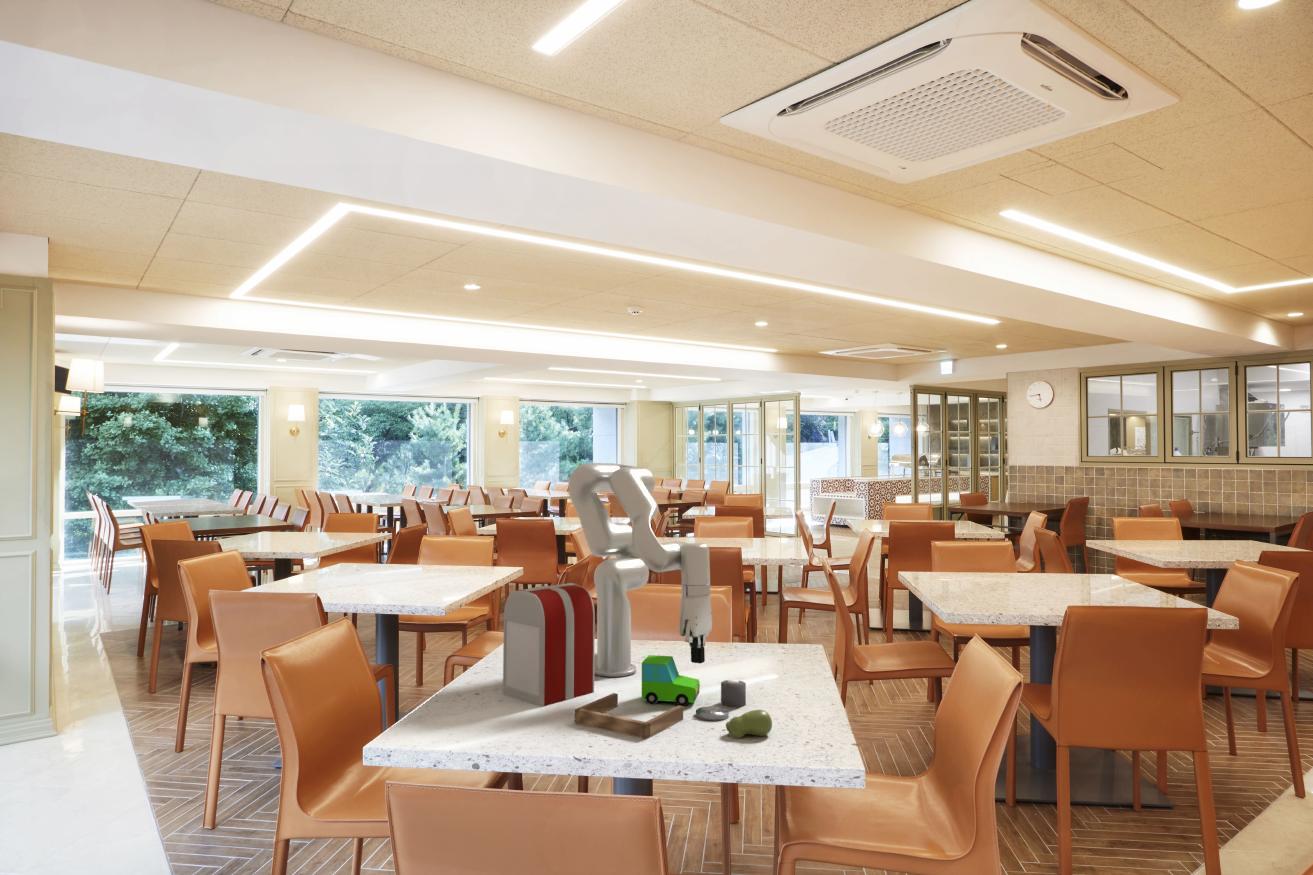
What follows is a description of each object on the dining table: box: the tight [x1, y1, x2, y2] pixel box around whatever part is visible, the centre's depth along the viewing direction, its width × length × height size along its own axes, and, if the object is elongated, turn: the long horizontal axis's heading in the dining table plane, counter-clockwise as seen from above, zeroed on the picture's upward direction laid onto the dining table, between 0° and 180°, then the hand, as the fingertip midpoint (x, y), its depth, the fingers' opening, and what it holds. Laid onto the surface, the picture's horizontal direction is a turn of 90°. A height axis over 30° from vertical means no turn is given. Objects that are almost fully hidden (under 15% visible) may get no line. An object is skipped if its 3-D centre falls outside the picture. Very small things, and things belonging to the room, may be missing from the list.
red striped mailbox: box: [502, 582, 596, 708], centre depth 197 cm, size 16×18×27 cm
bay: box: [574, 692, 684, 740], centre depth 174 cm, size 19×15×3 cm
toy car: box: [641, 654, 701, 707], centre depth 190 cm, size 10×13×10 cm
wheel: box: [720, 678, 747, 709], centre depth 188 cm, size 6×6×6 cm
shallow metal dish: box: [695, 705, 730, 722], centre depth 178 cm, size 8×8×1 cm
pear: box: [725, 709, 773, 739], centre depth 165 cm, size 6×5×10 cm
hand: (697, 662), depth 200 cm, fingers closed
